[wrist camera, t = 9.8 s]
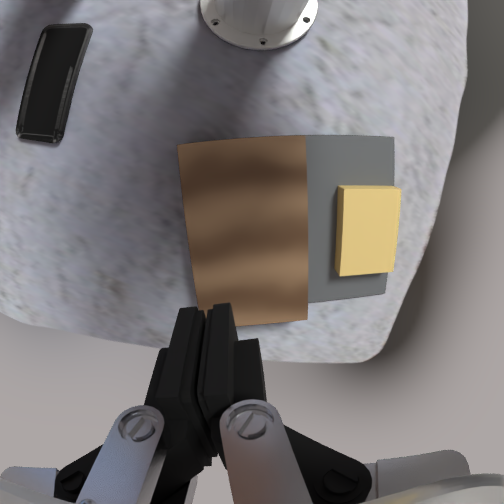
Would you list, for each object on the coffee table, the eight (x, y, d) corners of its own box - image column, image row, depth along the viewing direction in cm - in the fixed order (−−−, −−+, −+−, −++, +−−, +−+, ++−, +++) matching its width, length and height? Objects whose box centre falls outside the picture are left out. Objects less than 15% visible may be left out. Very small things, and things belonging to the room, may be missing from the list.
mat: (301, 135, 31) (302, 135, 31) (392, 137, 31) (394, 137, 31) (304, 301, 38) (305, 303, 38) (384, 292, 39) (385, 293, 38)
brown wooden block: (183, 143, 31) (176, 144, 27) (297, 135, 31) (305, 135, 27) (204, 310, 38) (202, 328, 34) (301, 302, 38) (307, 319, 35)
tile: (401, 189, 31) (392, 185, 33) (344, 188, 31) (337, 185, 33) (393, 271, 35) (385, 264, 37) (339, 276, 35) (334, 268, 37)
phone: (14, 137, 28) (44, 25, 23) (19, 136, 29) (48, 27, 24) (59, 144, 29) (93, 23, 24) (64, 143, 30) (97, 25, 25)
